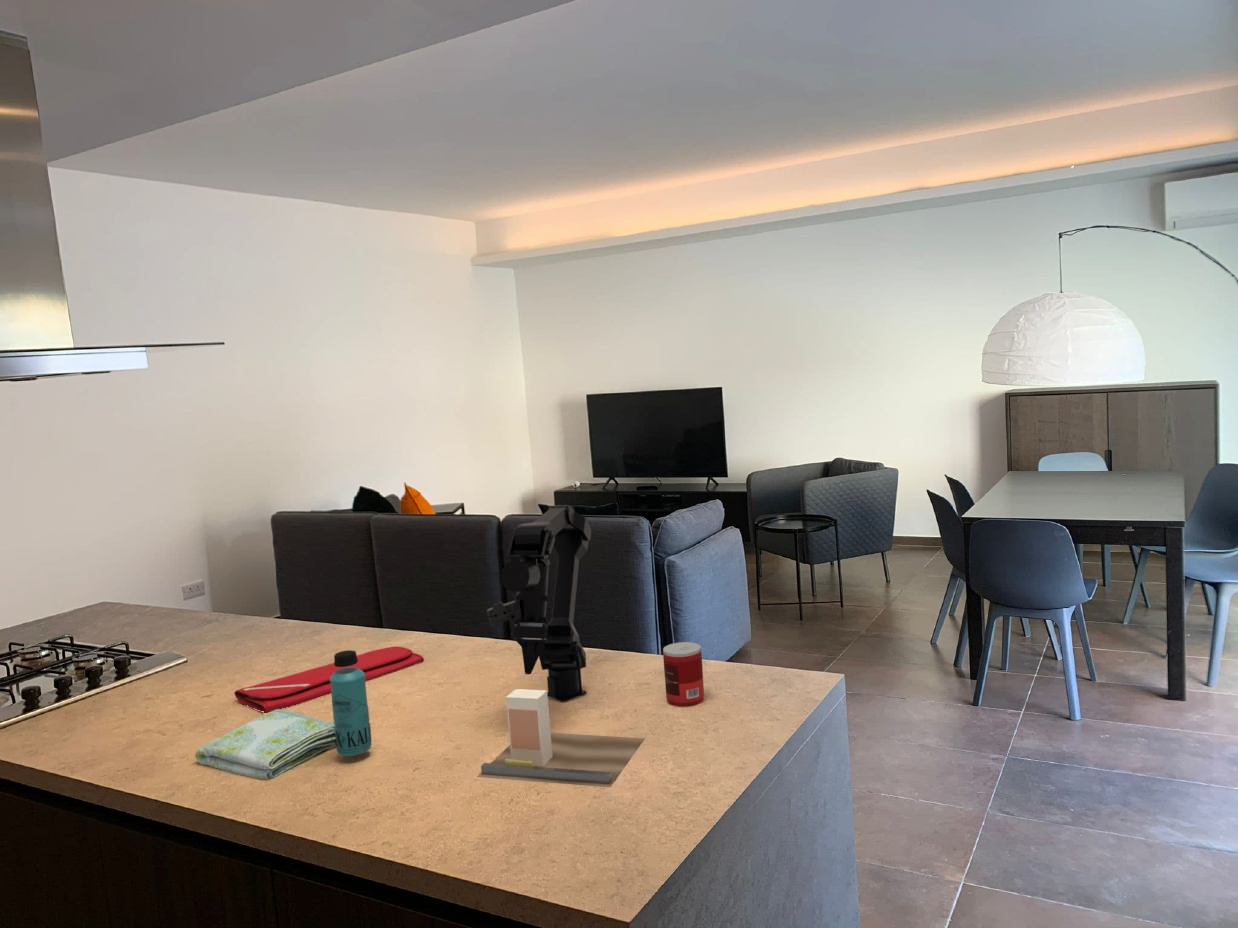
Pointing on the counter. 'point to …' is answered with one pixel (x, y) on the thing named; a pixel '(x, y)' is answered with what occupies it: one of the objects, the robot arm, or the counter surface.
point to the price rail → (544, 772)
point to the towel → (268, 744)
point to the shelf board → (582, 756)
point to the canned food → (683, 674)
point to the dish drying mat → (322, 679)
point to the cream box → (529, 726)
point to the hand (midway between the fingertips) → (527, 669)
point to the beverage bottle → (350, 706)
